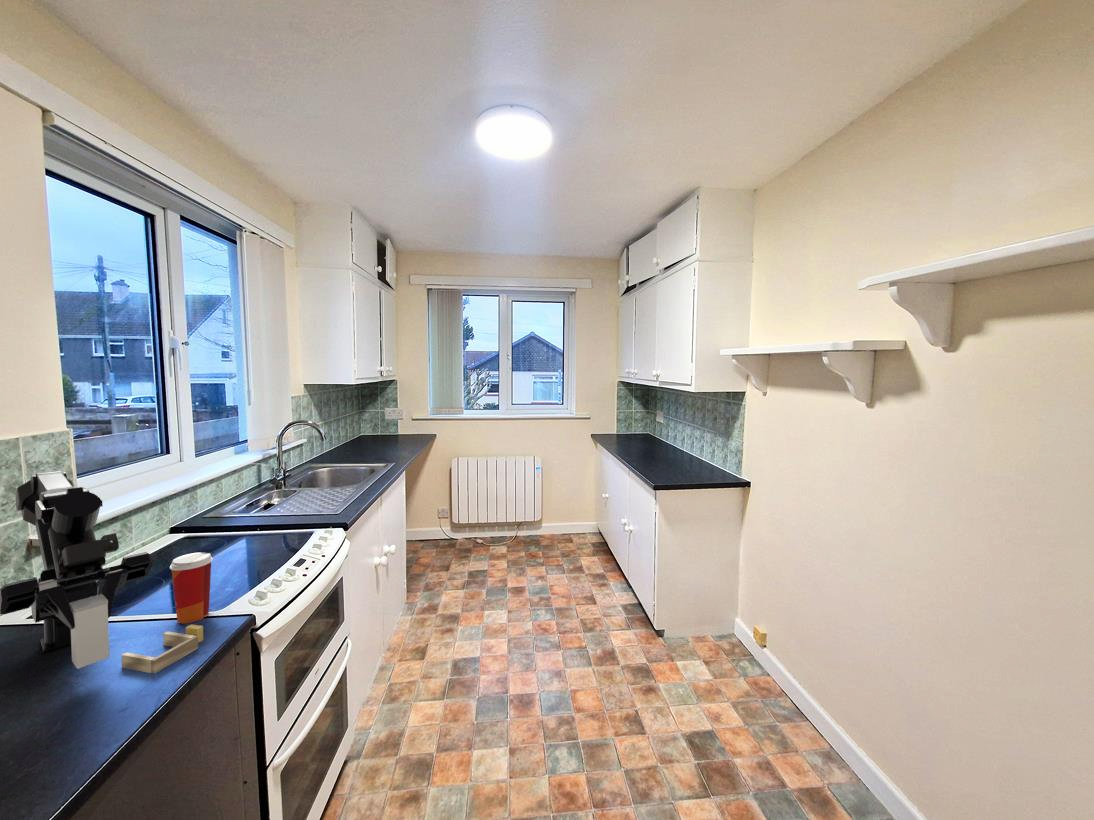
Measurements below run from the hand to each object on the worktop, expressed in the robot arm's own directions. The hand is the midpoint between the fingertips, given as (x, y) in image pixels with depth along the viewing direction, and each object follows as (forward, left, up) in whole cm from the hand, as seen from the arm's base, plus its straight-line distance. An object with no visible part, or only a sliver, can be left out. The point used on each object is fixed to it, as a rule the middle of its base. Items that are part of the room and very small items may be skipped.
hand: (91, 622), depth 76 cm
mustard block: (-3, +15, -11) cm, 19 cm away
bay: (-1, +9, -11) cm, 15 cm away
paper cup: (-15, +17, -12) cm, 26 cm away
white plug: (-1, 0, -7) cm, 7 cm away
